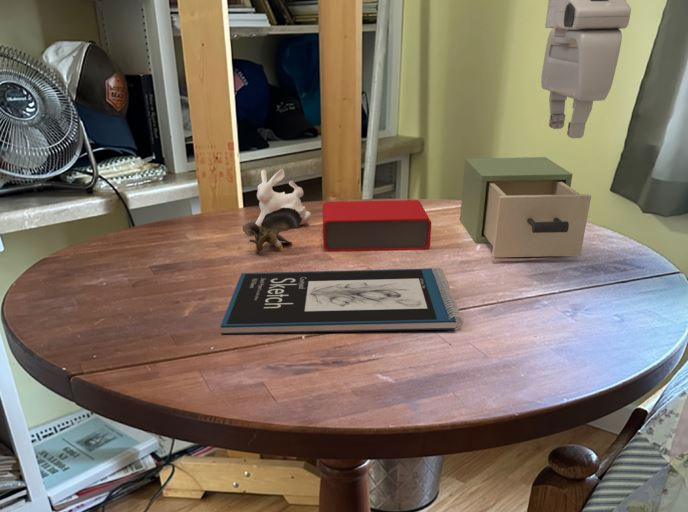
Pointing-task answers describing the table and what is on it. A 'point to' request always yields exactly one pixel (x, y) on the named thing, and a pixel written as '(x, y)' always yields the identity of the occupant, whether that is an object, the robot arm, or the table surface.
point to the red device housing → (375, 226)
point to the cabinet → (500, 170)
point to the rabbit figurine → (279, 198)
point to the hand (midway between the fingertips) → (564, 132)
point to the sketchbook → (341, 302)
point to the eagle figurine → (273, 227)
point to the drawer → (534, 218)
